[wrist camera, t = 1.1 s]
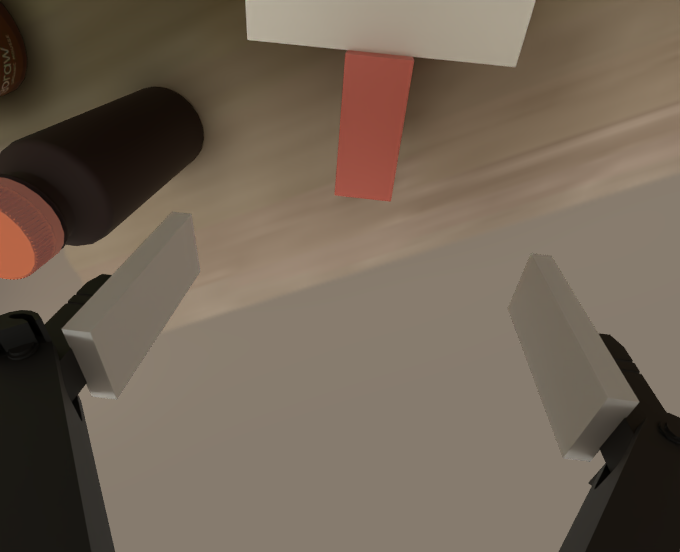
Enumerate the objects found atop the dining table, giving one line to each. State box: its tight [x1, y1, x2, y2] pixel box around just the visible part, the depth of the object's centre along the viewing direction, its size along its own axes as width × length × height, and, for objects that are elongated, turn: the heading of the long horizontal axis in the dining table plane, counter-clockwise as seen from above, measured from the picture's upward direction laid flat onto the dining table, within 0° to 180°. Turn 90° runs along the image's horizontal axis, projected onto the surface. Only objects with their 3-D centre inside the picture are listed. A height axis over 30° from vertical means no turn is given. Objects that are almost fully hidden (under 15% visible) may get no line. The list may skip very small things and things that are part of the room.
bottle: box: [0, 87, 203, 280], centre depth 28 cm, size 7×7×20 cm
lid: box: [245, 0, 536, 201], centre depth 20 cm, size 20×14×2 cm
